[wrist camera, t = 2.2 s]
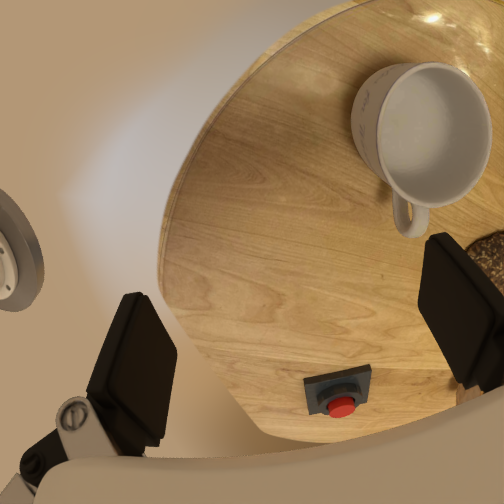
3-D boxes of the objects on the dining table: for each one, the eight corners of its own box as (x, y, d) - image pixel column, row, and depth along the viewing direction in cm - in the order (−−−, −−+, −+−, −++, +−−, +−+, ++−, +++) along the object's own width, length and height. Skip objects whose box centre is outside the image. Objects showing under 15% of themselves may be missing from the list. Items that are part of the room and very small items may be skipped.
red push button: (327, 410, 44) (329, 420, 42) (327, 399, 42) (329, 408, 40) (352, 405, 43) (354, 414, 42) (353, 393, 41) (356, 402, 40)
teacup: (358, 42, 20) (401, 34, 14) (455, 90, 22) (511, 105, 15) (315, 188, 27) (338, 231, 21) (410, 215, 29) (450, 258, 22)
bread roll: (525, 231, 30) (546, 250, 26) (495, 301, 37) (510, 323, 32) (467, 227, 30) (490, 249, 26) (435, 308, 36) (451, 334, 32)
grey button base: (308, 409, 48) (310, 424, 45) (303, 378, 42) (306, 395, 40) (365, 396, 47) (369, 411, 44) (369, 364, 42) (375, 380, 39)
